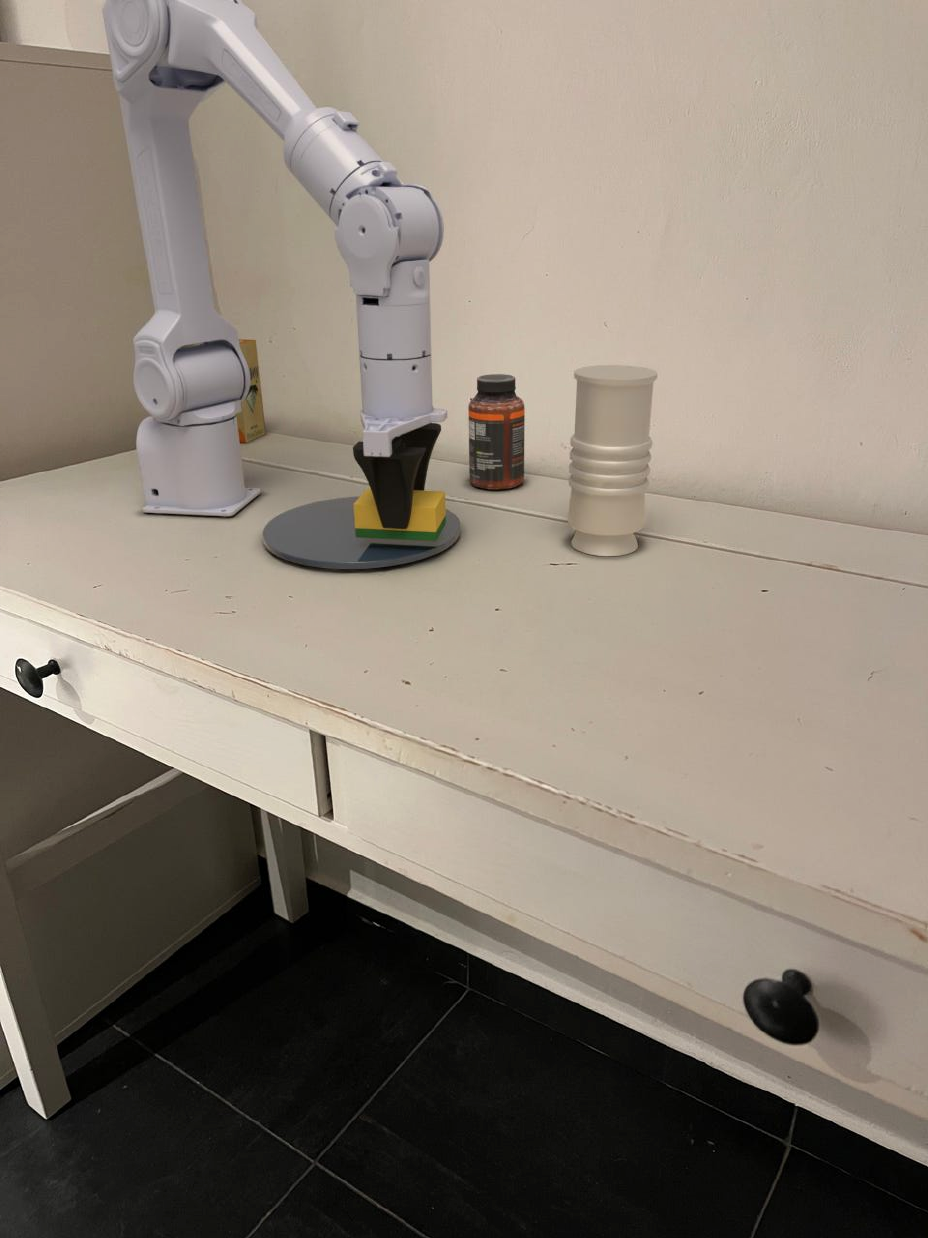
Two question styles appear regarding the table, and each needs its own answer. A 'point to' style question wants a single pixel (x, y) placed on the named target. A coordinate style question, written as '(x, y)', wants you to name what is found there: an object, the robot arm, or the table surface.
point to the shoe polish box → (251, 398)
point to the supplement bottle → (496, 434)
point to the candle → (610, 457)
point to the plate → (344, 538)
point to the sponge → (421, 526)
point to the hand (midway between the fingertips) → (402, 517)
